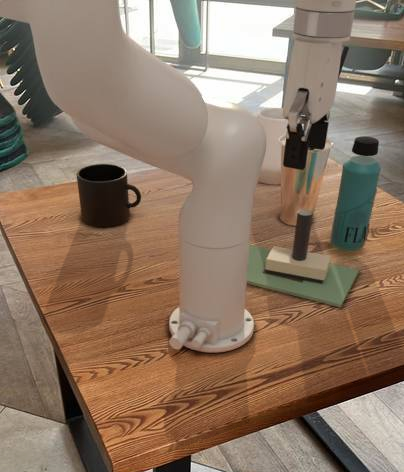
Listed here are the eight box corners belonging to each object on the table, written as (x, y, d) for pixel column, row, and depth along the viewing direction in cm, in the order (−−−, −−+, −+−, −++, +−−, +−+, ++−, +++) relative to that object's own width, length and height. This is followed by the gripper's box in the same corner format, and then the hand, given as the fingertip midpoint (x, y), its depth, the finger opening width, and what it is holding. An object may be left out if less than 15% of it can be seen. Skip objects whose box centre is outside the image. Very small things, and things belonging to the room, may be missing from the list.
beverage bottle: (337, 261, 101) (358, 147, 89) (321, 243, 106) (339, 133, 94) (370, 256, 103) (396, 144, 90) (353, 240, 108) (375, 131, 95)
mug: (137, 230, 109) (134, 184, 104) (76, 226, 110) (70, 180, 105) (146, 209, 117) (144, 165, 111) (89, 205, 118) (84, 162, 112)
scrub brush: (323, 285, 94) (334, 224, 87) (264, 273, 96) (270, 213, 89) (328, 270, 97) (339, 211, 91) (271, 260, 100) (278, 201, 93)
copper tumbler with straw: (323, 207, 119) (349, 45, 100) (327, 232, 110) (356, 59, 91) (271, 204, 120) (287, 43, 101) (270, 228, 111) (288, 57, 92)
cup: (263, 192, 124) (269, 126, 116) (232, 171, 133) (235, 109, 125) (313, 181, 129) (322, 117, 121) (279, 162, 138) (285, 101, 130)
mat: (340, 307, 90) (341, 303, 90) (224, 277, 96) (224, 274, 96) (358, 272, 98) (359, 269, 98) (250, 247, 105) (250, 244, 104)
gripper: (314, 14, 81) (298, 137, 92) (272, 31, 69) (259, 171, 80) (366, 19, 79) (344, 145, 90) (332, 38, 67) (311, 181, 77)
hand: (304, 157), depth 85 cm, fingers open, 9 cm apart
